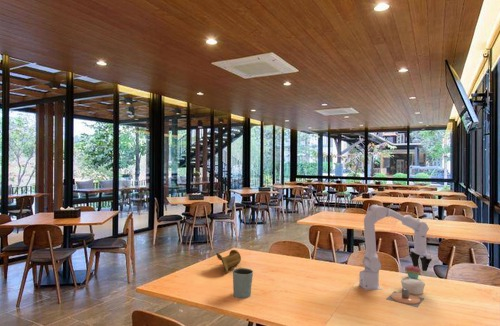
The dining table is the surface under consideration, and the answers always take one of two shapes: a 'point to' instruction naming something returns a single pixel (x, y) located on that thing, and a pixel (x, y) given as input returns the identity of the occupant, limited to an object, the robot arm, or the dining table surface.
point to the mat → (404, 303)
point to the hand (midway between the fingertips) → (420, 268)
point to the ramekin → (413, 285)
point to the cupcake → (412, 271)
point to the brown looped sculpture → (230, 259)
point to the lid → (405, 297)
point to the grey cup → (242, 282)
